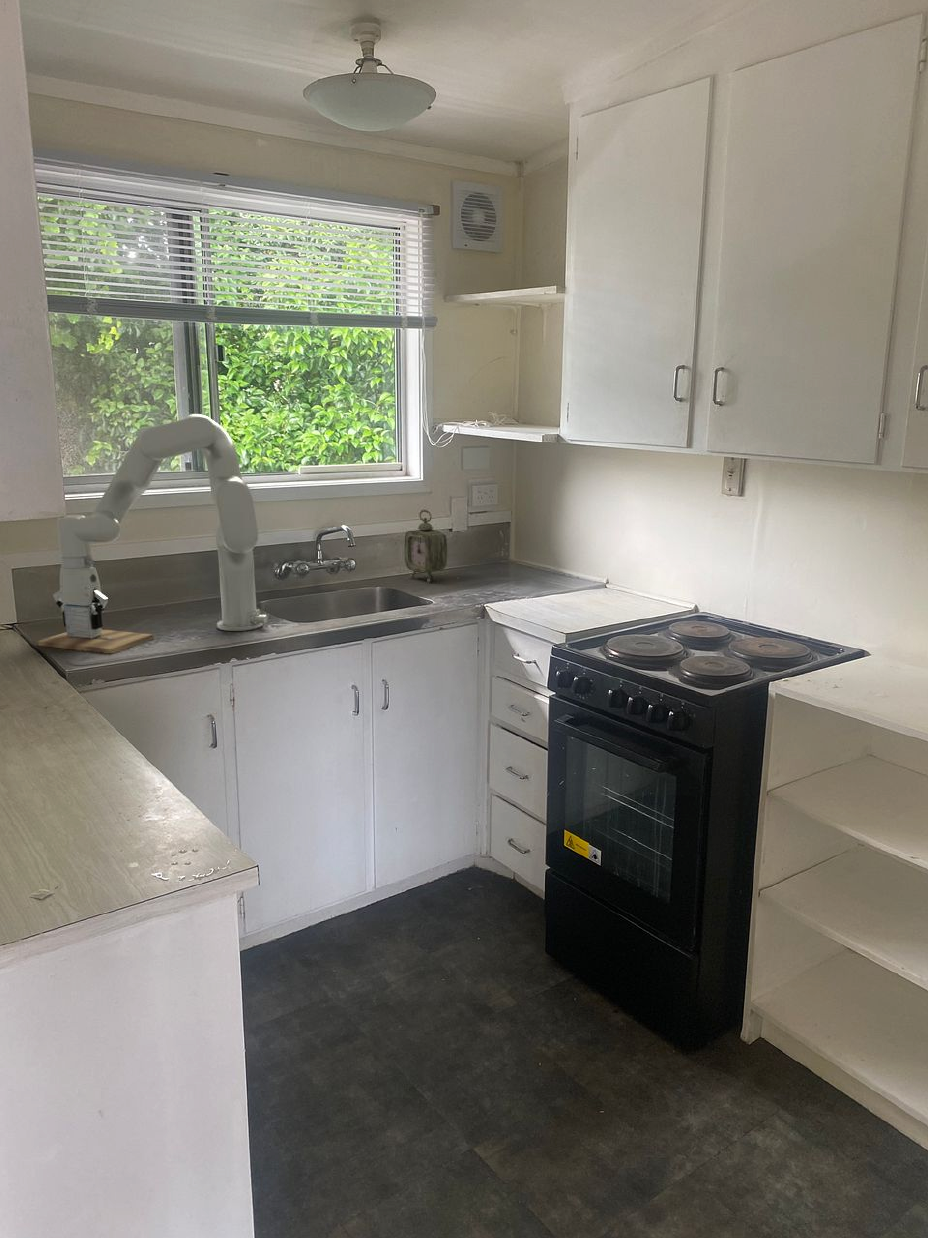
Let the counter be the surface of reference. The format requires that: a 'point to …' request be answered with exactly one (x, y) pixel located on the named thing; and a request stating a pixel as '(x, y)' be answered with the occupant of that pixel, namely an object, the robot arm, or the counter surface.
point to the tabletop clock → (425, 549)
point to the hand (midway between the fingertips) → (83, 626)
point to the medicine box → (80, 622)
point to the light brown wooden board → (98, 641)
